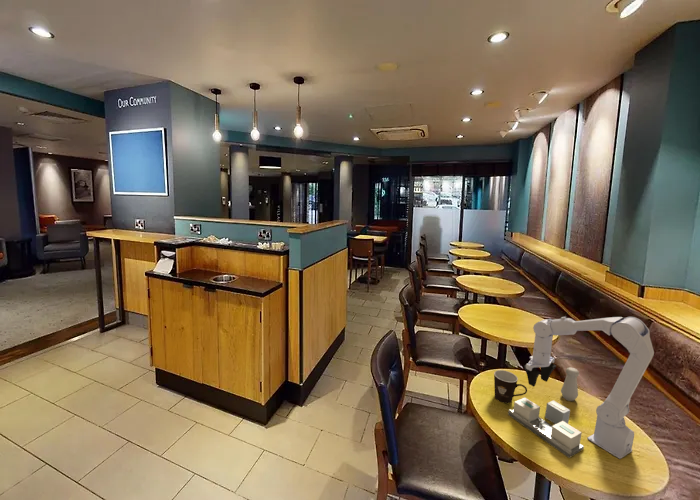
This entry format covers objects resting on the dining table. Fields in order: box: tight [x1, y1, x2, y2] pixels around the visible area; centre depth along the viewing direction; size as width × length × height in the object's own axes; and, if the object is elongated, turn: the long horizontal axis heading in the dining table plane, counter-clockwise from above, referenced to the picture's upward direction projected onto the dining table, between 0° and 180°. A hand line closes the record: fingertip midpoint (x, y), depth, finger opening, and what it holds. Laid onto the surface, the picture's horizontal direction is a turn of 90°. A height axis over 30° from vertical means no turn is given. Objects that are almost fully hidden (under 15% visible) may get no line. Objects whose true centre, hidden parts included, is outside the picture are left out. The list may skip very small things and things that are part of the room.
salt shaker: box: [560, 367, 580, 402], centre depth 129 cm, size 6×6×13 cm
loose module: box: [544, 400, 571, 425], centre depth 116 cm, size 6×4×6 cm, turn 27°
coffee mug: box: [493, 369, 528, 404], centre depth 127 cm, size 12×9×10 cm
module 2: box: [551, 421, 583, 450], centre depth 105 cm, size 6×6×5 cm
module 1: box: [512, 397, 541, 422], centre depth 118 cm, size 6×6×5 cm
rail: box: [507, 408, 585, 459], centre depth 112 cm, size 22×8×2 cm, turn 27°
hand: (537, 382), depth 124 cm, fingers open, 7 cm apart
